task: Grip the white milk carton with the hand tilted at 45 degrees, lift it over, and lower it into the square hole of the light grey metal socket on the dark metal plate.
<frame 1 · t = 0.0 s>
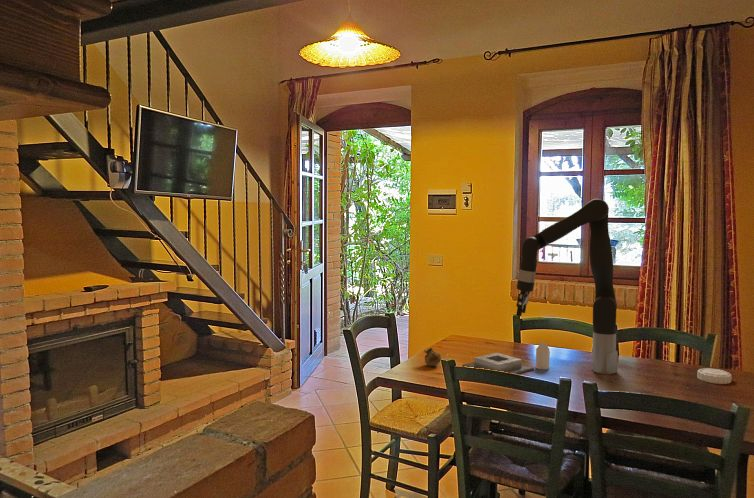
hand: (520, 314, 249), 22 cm above the table, tool pointing down, fingers open, 8 cm apart
mooncake: (714, 380, 223), on the table
onion: (432, 366, 244), on the table
socket: (497, 368, 240), on the table
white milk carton: (542, 368, 241), on the table
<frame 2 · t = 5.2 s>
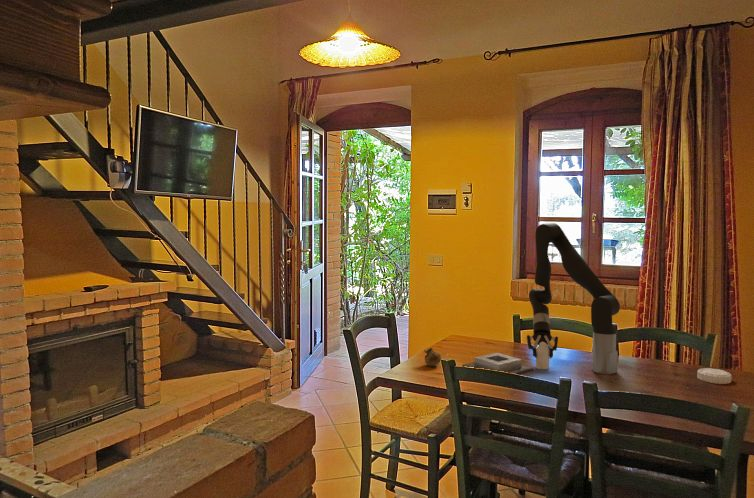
hand: (543, 357, 239), 5 cm above the table, tool tilted 45°, fingers closed on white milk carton, 6 cm apart
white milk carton: (542, 368, 241), on the table, touching gripper
everything else where it was.
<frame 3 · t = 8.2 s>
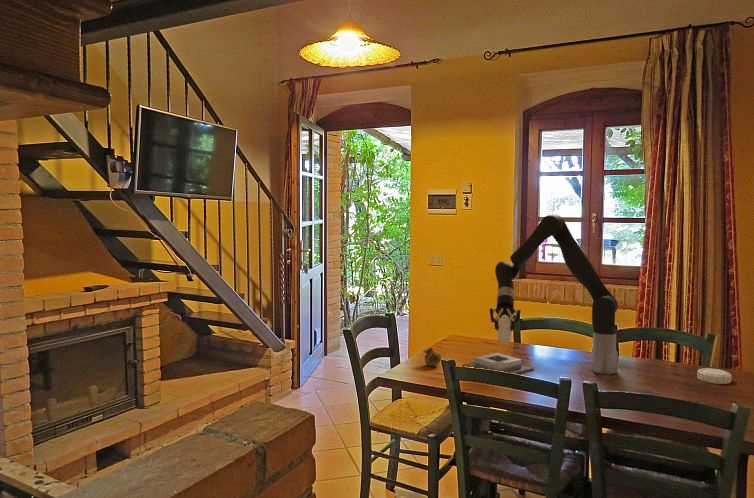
hand: (504, 329, 238), 18 cm above the table, tool tilted 45°, fingers closed on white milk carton, 6 cm apart
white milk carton: (504, 341, 240), point 12 cm above the table, touching gripper
everything else where it was.
when the fingers open (8 cm above the table, at t = 11.3 s): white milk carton drops 1 cm, resting on socket.
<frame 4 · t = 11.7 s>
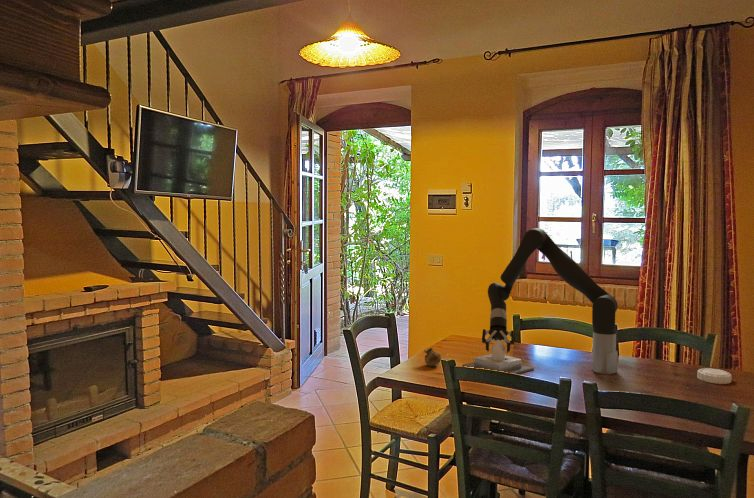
hand: (497, 351, 238), 8 cm above the table, tool tilted 45°, fingers open, 8 cm apart
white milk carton: (498, 366, 240), point 1 cm above the table, touching socket
everything else where it was.
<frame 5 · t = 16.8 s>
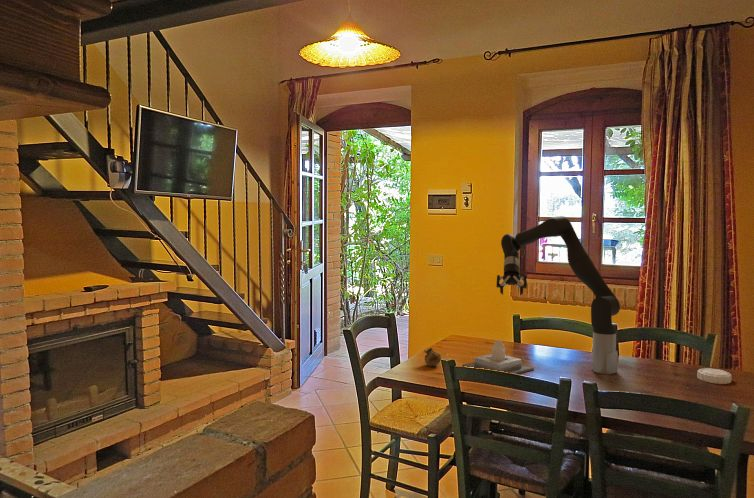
hand: (511, 293, 256), 31 cm above the table, tool tilted 45°, fingers open, 8 cm apart
nothing on the table moved.
at the end: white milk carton 0.3 cm off-centre on the socket, point 0.8 cm above the socket's base; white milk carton tilted 0°; the gripper is holding nothing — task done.
